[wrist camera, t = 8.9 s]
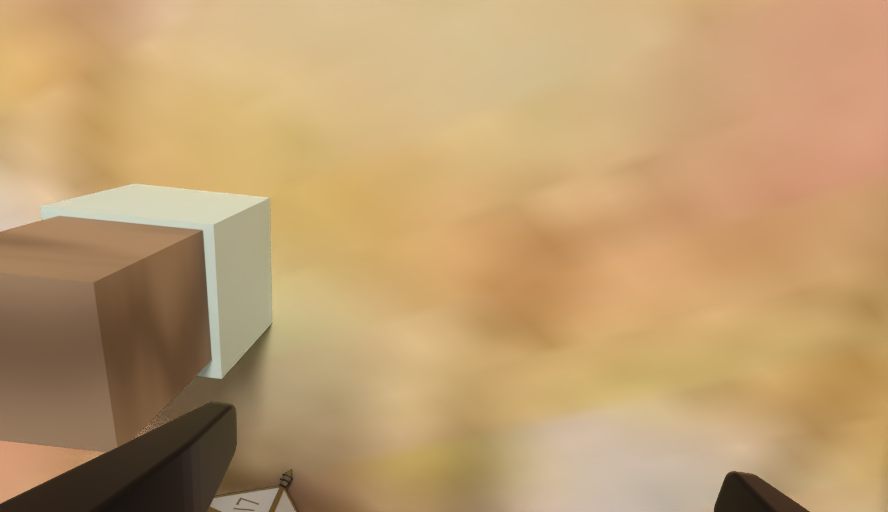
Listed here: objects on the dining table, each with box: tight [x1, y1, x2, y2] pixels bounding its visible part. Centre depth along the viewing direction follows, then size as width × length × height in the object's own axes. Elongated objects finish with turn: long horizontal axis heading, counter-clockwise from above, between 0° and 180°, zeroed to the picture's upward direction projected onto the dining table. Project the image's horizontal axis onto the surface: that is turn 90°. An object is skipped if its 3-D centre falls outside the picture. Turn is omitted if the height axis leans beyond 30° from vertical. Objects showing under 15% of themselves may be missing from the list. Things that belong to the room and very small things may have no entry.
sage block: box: [40, 184, 272, 379], centre depth 20 cm, size 6×6×5 cm
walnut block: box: [0, 216, 212, 452], centre depth 15 cm, size 5×5×5 cm
